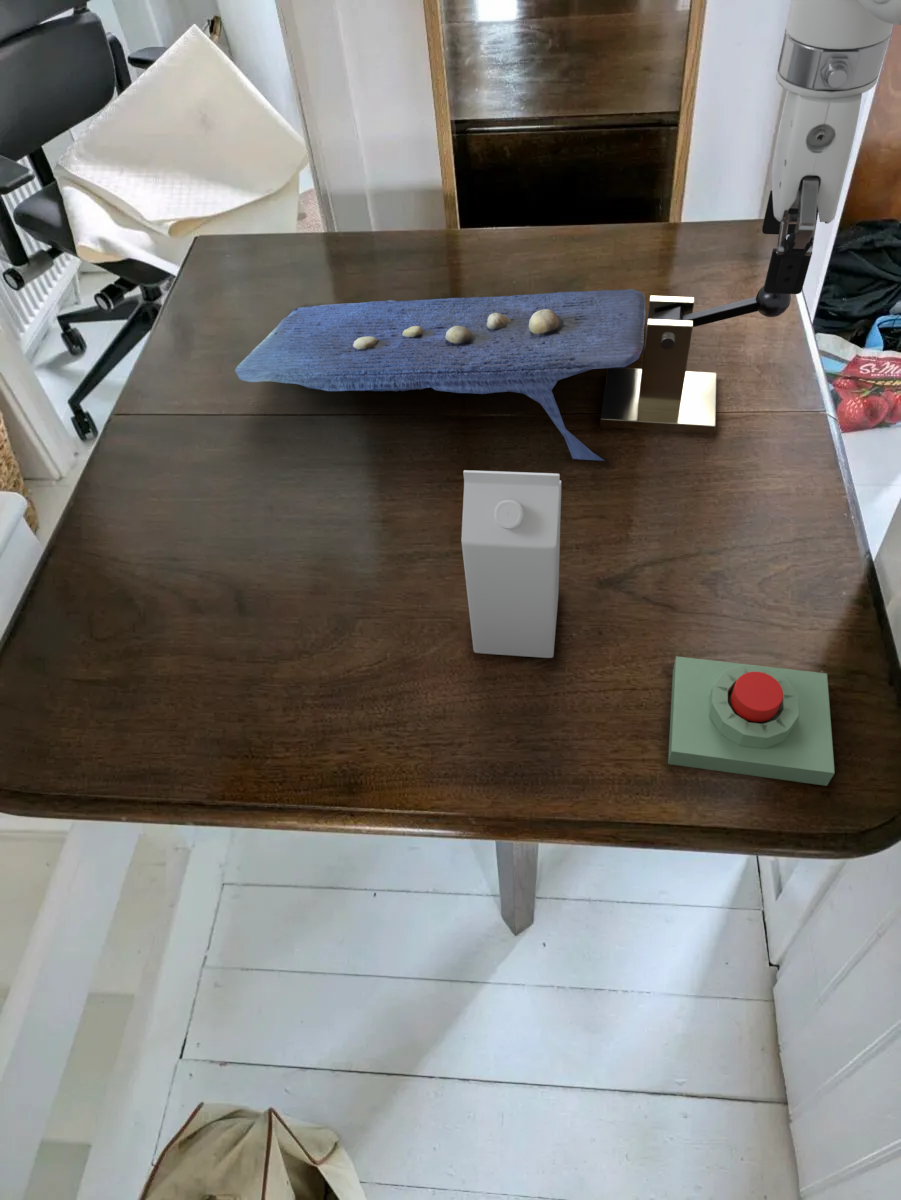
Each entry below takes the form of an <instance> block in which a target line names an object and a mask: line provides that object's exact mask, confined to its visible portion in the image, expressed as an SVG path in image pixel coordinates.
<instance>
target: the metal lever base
mask: <svg viewBox="0 0 901 1200" xmlns="http://www.w3.org/2000/svg"><path fill="white" fill-rule="evenodd" d="M694 306H695V297H694V296H673V295H671V296H669V295H649V303H648V309H647V310H648V311H647V319H646V329H645V337H644V345H643V347H644V348H643V357H642V365H641V368H634V367H633V368H632V367H616V368H607V370H606V378H605V385H604V392H603V400H602V407H601V412H600V413H601V414H600V424H599V427H600V428H608V429H624V430H636V431H637V430H639V431H652V432H653V431H655V432H666V433H667V432H669V433H684V434H698V435H699V434H700V435H715V431H716V427H717V425H716V421H717V375H718V373H717V372H708V371H707V372H706V371H691V370H690V371H689V370H687V366H688V360H689V355H690V354H689V353H690V348H691V342H692V336H693V328H694V327H693V321H688V320H664V319H653V314H654V313H657V312H661V311H665V310H669V309H673V308H677V307H681V310H682V313H683V315H686V314H690V313H694Z"/></svg>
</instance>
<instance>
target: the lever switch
mask: <svg viewBox="0 0 901 1200" xmlns="http://www.w3.org/2000/svg"><path fill="white" fill-rule="evenodd" d="M791 301H792V294H778V293H766V292H765V291H764V285H763V286H761V288H760V289H759V290H758V292H757V294H756V296H752V297H749V298H745V299H742V300H737V301H733V302H729V303H725V304H722V305H717V306H714V307H710V308H706V309H702V310H699V311H695V312H694V311H693V313H690V314H686V315H683V313H682V310H681V307H677V308H673V309H669V310H665V311H661V312H657V313H654V314H653V319H664V320H688V321H693V328H696V327H700V326H704V325H708V324H712V323H716V322H720V321H724V320H728V319H732V318H736V317H739V316H744V315H748V314H751V313H756V312H759V314H761V315H762V316H764V317H766V318H776V317H779V316H781V315H783V314H784V313H785V312H786V311H787V310H788V308H789V307H790V304H791Z"/></svg>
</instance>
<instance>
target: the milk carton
mask: <svg viewBox="0 0 901 1200" xmlns="http://www.w3.org/2000/svg"><path fill="white" fill-rule="evenodd" d="M560 479H561V475H560V473H555V472H554V473H552V472H526V471H525V472H524V471H499V470H470V469H469V470H467V469H464V470H463V499H462V517H461V518H462V520H461V538H460V539H461V540H460V541H461V549H462V560H463V568H464V579H465V586H466V595H467V603H468V605H467V606H468V613H469V621H470V631H471V632H470V633H471V641H472V650H473V652H474V653H475V654H486V655H498V656H499V655H501V656H512V657H530V658H543V659H553V658H554V656H555V655H554V654H555V641H556V631H557V630H556V629H557V620H558V619H557V616H558V606H559V605H558V603H559V589H560V588H559V587H560V586H559V585H560V553H561V550H560V549H561V513H562V480H560Z"/></svg>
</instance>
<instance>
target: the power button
mask: <svg viewBox="0 0 901 1200" xmlns="http://www.w3.org/2000/svg"><path fill="white" fill-rule="evenodd" d="M782 700H783V690H782V688H781V686H780V684H779V683H778V681H777V680H776V679H774V678H773V677H772V676H770V675H768V674H766V673H762V672H748V673H745V674H743V675H742V676H740V677H739V678H738V679H737V681H736V683H735V686H734V688H733V691H732V695H731V704H732V707H733V708H734V710H735V711H736V713H737V714H738V715H740V716H741V717H742V718H744V719H746V720H748V721H752V722H765V721H768V720H770V719H772V718H773V717H774V716H775V715H776V713H777V712H778V709H779V707H780V705H781V702H782Z"/></svg>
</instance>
